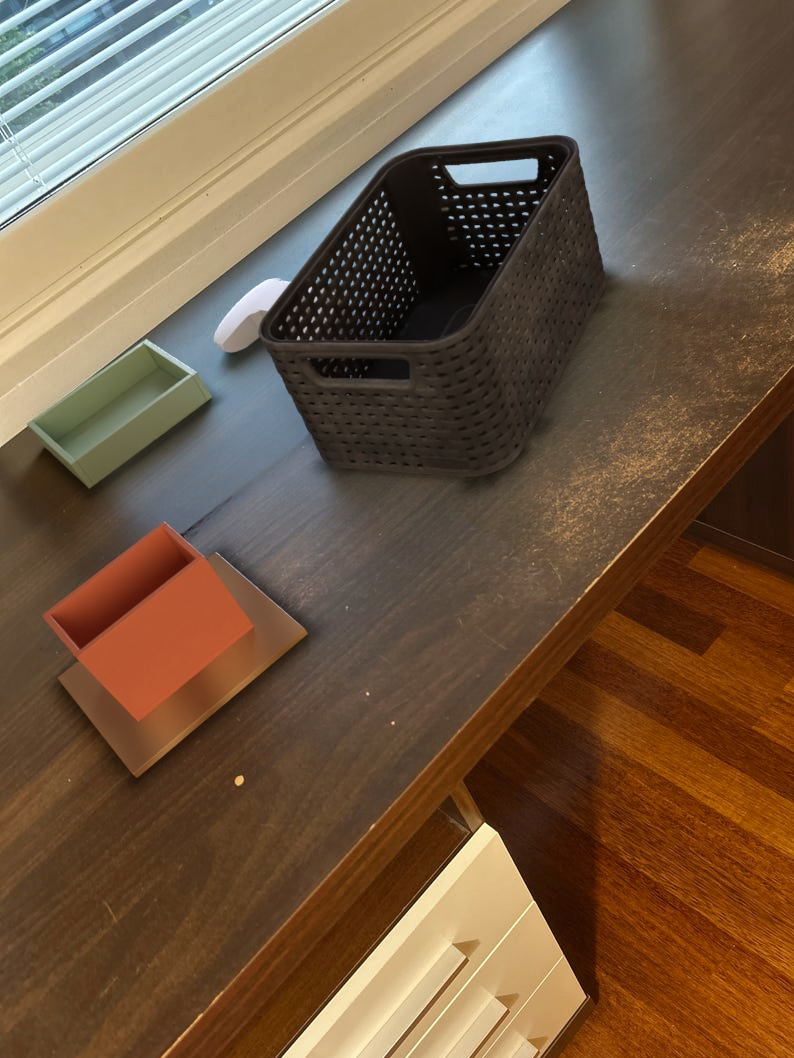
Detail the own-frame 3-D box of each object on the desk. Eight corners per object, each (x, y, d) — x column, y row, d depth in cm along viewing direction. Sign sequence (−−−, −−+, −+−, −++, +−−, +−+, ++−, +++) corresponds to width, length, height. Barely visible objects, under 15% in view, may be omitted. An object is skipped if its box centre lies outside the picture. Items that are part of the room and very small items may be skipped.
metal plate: (136, 778, 73) (132, 774, 72) (61, 681, 81) (56, 677, 81) (308, 633, 77) (305, 628, 76) (219, 556, 85) (215, 551, 85)
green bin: (92, 492, 96) (70, 464, 94) (47, 450, 103) (26, 423, 101) (215, 401, 100) (197, 372, 97) (163, 367, 107) (146, 338, 104)
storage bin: (436, 272, 103) (391, 144, 93) (618, 268, 95) (589, 126, 85) (309, 471, 89) (240, 344, 79) (509, 486, 80) (460, 347, 70)
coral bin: (138, 722, 75) (76, 658, 69) (102, 679, 79) (41, 615, 73) (254, 626, 78) (204, 556, 72) (214, 590, 82) (163, 520, 76)
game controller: (198, 338, 102) (247, 261, 105) (224, 366, 106) (270, 291, 108) (303, 354, 95) (353, 271, 97) (327, 384, 98) (374, 303, 101)
